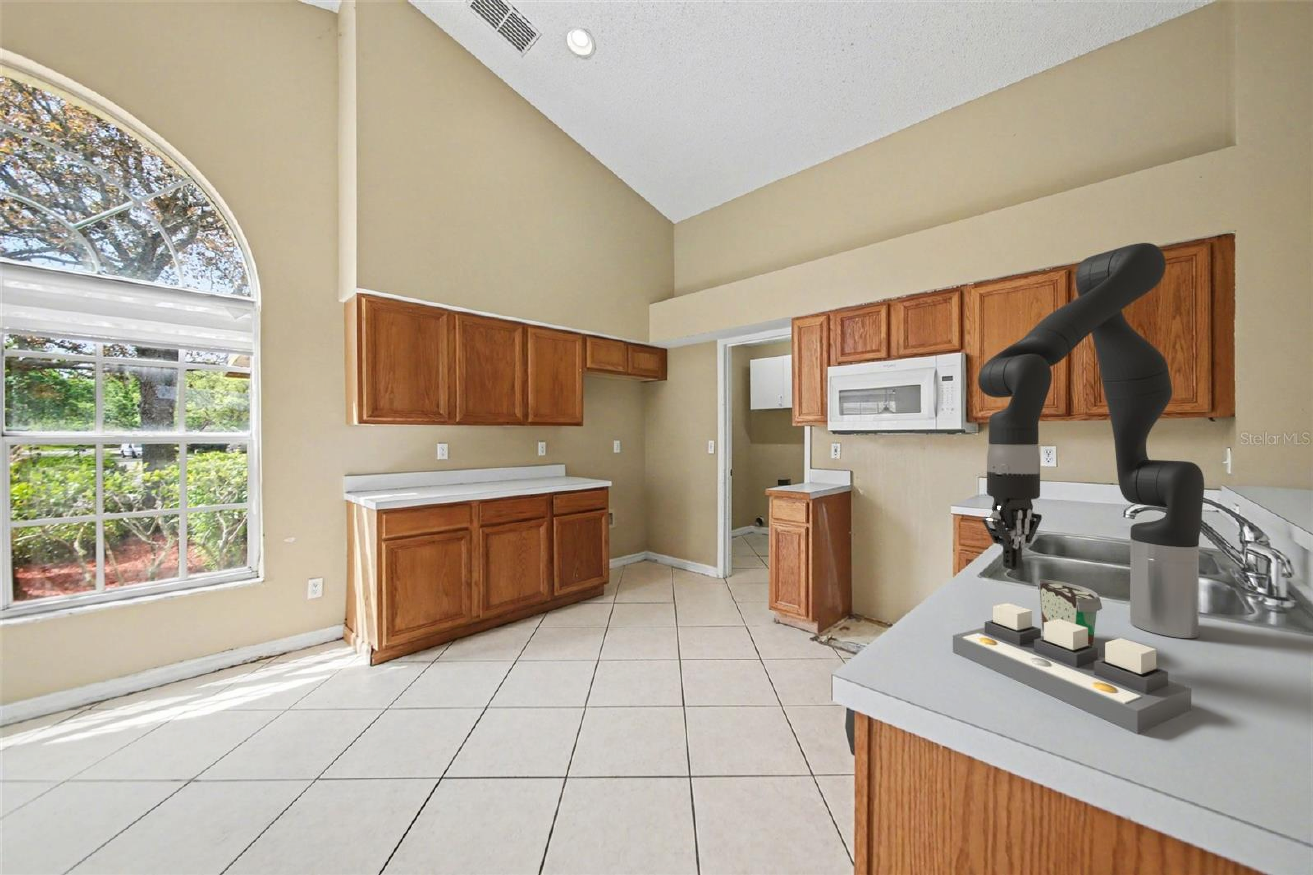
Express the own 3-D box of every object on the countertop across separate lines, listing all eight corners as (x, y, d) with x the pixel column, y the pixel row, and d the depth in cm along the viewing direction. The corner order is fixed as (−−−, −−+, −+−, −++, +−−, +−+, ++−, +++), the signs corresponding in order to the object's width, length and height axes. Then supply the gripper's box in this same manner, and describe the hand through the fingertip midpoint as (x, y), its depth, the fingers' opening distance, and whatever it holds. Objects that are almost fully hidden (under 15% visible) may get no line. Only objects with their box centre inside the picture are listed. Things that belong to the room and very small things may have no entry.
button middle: (1058, 635, 79) (1058, 618, 79) (1087, 645, 75) (1088, 628, 75) (1043, 639, 78) (1043, 622, 78) (1072, 650, 74) (1073, 632, 74)
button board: (1003, 638, 90) (1003, 612, 90) (1191, 709, 67) (1191, 674, 67) (952, 652, 85) (952, 624, 85) (1137, 734, 62) (1137, 695, 61)
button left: (1007, 618, 86) (1007, 603, 86) (1031, 626, 83) (1031, 610, 83) (993, 621, 85) (993, 606, 85) (1017, 630, 81) (1017, 614, 81)
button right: (1120, 656, 72) (1120, 638, 72) (1156, 668, 68) (1156, 649, 68) (1105, 661, 70) (1105, 642, 70) (1141, 674, 66) (1141, 654, 66)
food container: (1120, 660, 81) (1121, 602, 81) (1079, 657, 82) (1079, 600, 82) (1073, 631, 93) (1073, 580, 93) (1037, 628, 94) (1037, 578, 94)
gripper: (1013, 467, 90) (1013, 559, 90) (966, 469, 85) (966, 567, 85) (1060, 470, 83) (1059, 570, 83) (1011, 473, 78) (1011, 579, 78)
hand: (1012, 568), depth 84 cm, fingers closed
